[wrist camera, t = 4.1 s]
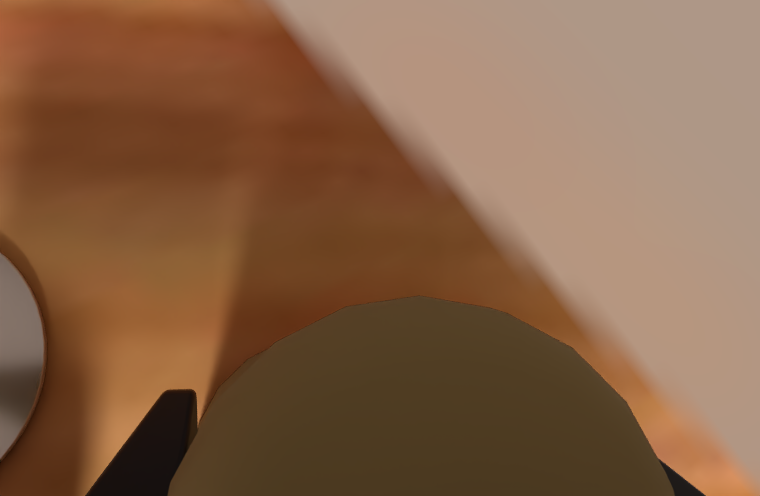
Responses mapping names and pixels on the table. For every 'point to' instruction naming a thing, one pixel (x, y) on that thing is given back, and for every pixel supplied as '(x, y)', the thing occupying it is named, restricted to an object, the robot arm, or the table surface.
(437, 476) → the olive rounded piece
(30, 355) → the hinge frame
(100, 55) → the table surface
